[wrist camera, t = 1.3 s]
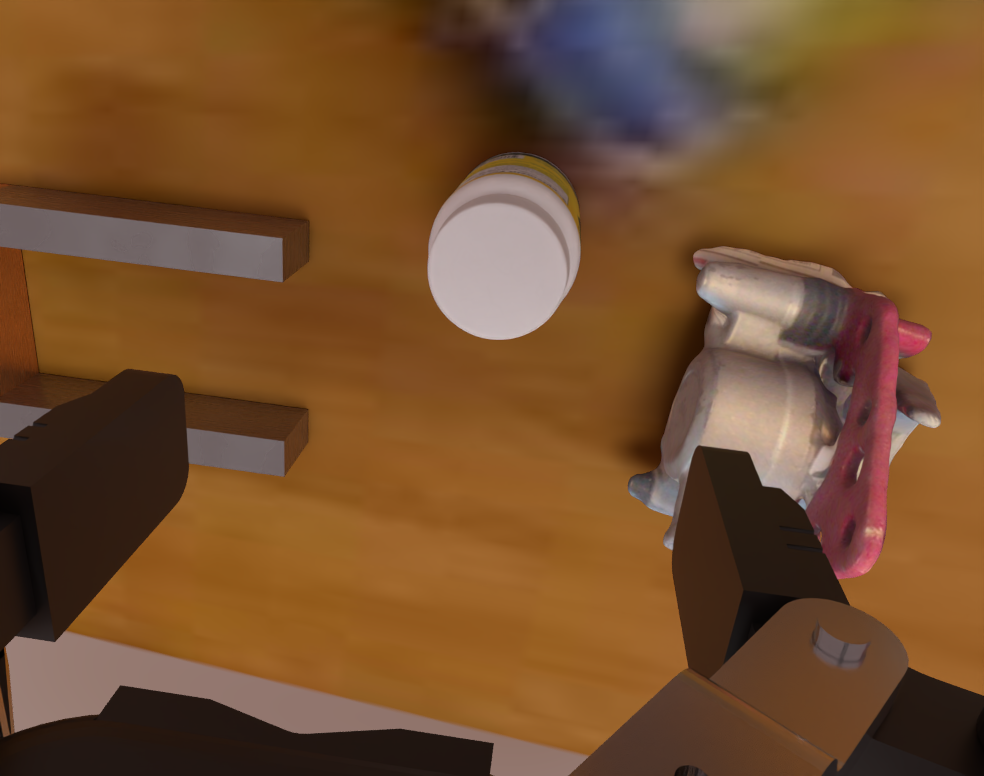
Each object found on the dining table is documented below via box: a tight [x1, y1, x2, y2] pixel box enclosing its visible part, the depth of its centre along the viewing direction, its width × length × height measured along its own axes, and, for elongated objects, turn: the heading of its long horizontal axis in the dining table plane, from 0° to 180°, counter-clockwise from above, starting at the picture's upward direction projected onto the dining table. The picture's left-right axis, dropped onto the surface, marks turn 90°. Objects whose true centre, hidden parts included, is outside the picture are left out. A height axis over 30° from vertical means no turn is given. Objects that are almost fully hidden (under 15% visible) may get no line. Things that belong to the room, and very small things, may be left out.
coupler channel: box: [0, 183, 309, 477], centre depth 32 cm, size 10×14×3 cm
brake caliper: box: [628, 246, 941, 579], centre depth 28 cm, size 11×11×12 cm
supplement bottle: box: [428, 152, 581, 340], centre depth 26 cm, size 5×5×8 cm
